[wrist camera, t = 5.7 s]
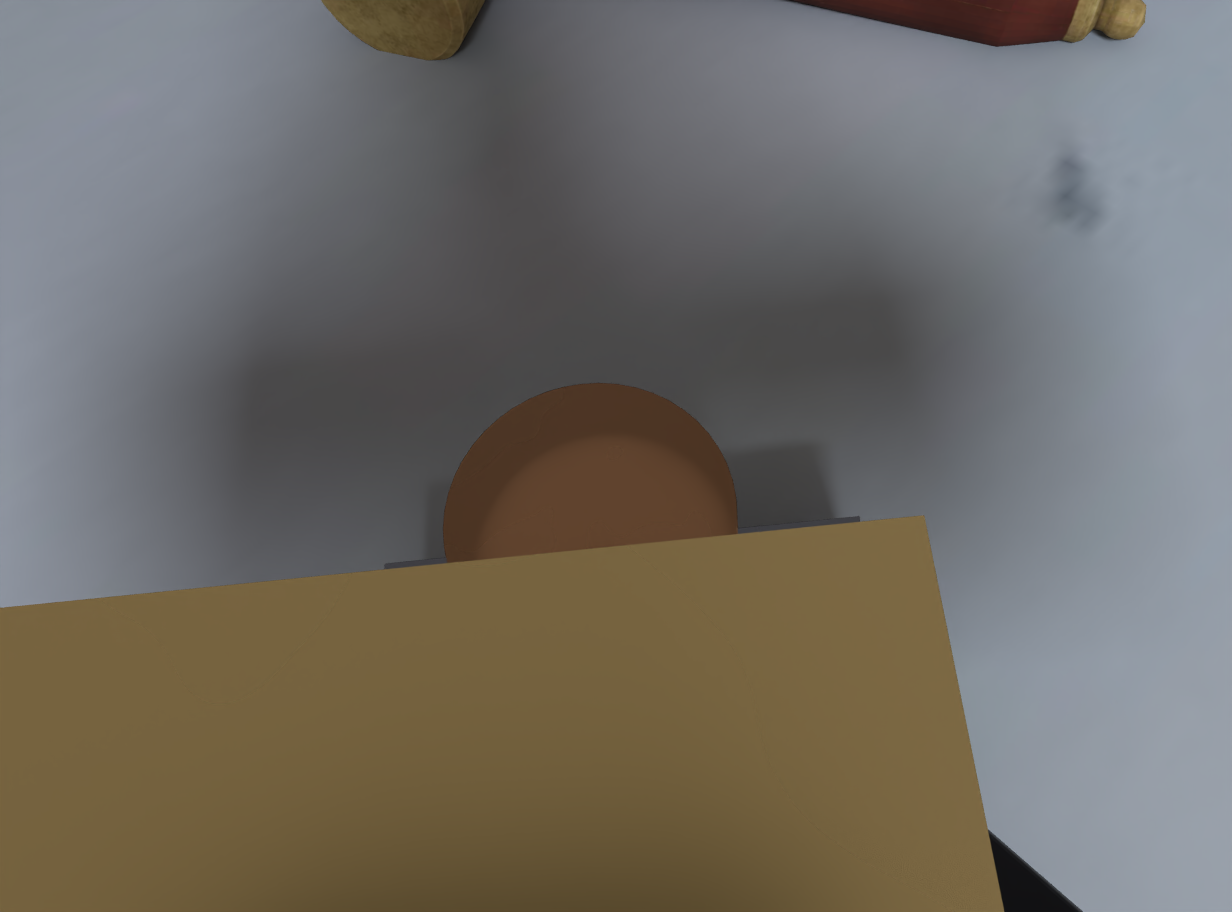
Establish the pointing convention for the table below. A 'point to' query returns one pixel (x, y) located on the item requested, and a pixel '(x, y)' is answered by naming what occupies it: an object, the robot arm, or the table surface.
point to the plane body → (590, 479)
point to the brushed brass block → (504, 737)
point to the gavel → (940, 3)
